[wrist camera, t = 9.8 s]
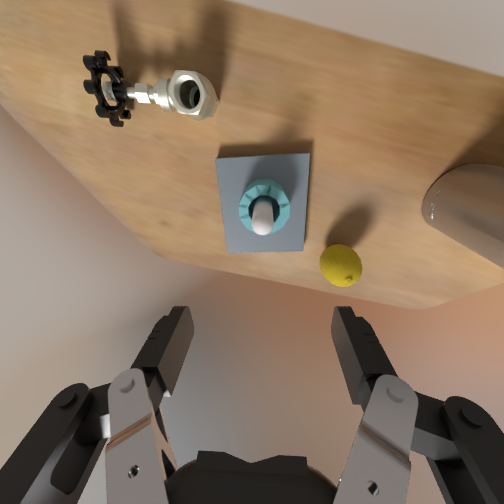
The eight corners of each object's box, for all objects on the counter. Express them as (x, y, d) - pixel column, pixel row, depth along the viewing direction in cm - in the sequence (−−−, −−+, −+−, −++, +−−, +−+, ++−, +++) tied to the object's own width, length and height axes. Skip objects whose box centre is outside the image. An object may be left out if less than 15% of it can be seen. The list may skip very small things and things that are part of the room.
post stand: (307, 152, 28) (328, 163, 19) (301, 246, 35) (314, 288, 26) (217, 157, 29) (195, 170, 20) (228, 248, 36) (216, 289, 27)
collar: (287, 177, 28) (290, 183, 25) (286, 223, 31) (289, 233, 28) (239, 180, 29) (236, 186, 26) (243, 224, 32) (240, 235, 29)
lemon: (311, 241, 34) (323, 270, 27) (347, 231, 33) (369, 258, 26) (319, 268, 37) (331, 301, 30) (352, 260, 36) (373, 291, 29)
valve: (221, 66, 24) (116, 59, 24) (207, 47, 19) (70, 38, 19) (221, 133, 28) (129, 126, 28) (210, 134, 22) (93, 126, 22)
